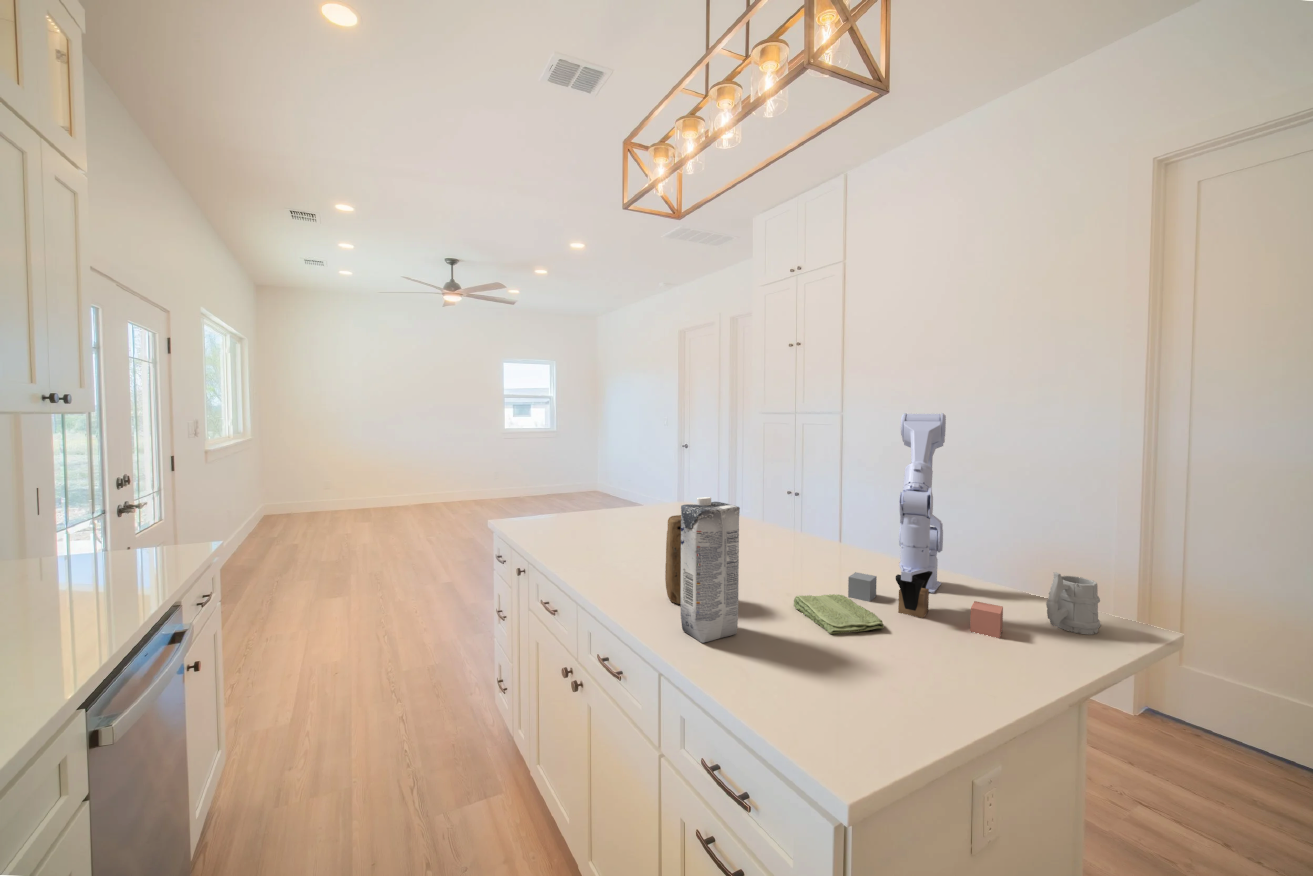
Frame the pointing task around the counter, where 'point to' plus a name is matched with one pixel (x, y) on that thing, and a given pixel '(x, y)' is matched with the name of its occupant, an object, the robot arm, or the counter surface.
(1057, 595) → the mug
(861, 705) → the counter surface
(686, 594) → the juice carton
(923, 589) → the walnut block
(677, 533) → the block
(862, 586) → the slate grey block
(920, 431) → the robot arm
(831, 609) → the washcloth
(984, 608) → the brick red block
